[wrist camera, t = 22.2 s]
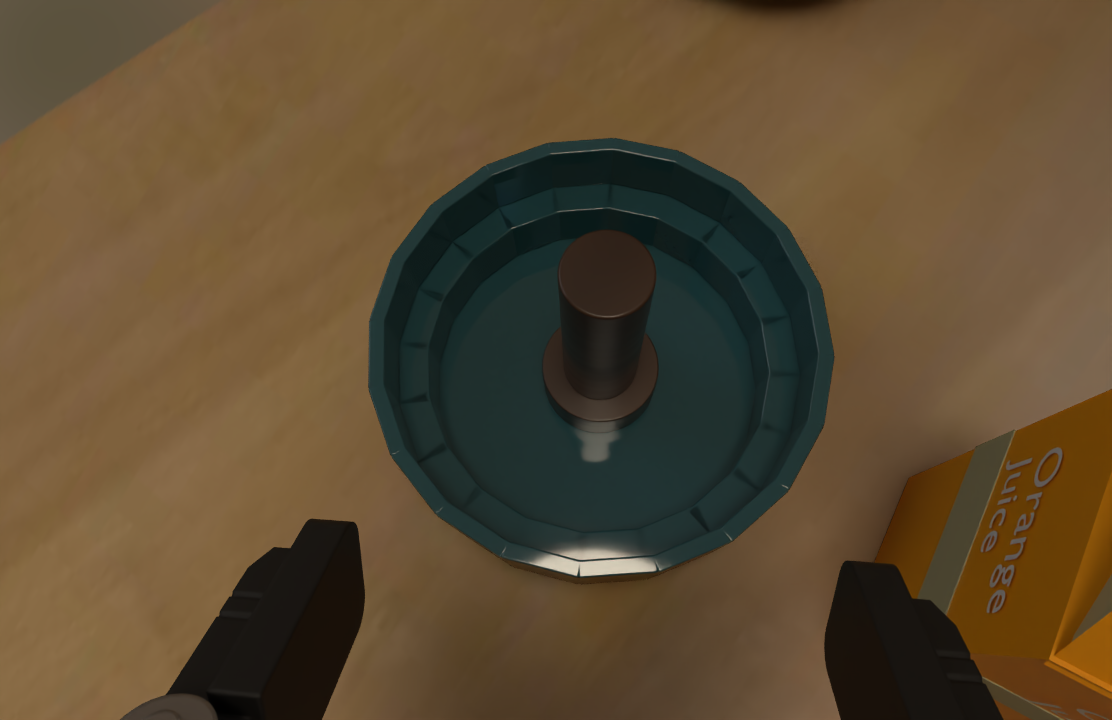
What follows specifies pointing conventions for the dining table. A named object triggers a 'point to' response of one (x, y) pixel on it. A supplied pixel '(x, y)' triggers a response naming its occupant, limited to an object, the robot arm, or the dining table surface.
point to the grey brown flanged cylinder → (602, 333)
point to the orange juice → (1022, 560)
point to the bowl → (534, 315)
